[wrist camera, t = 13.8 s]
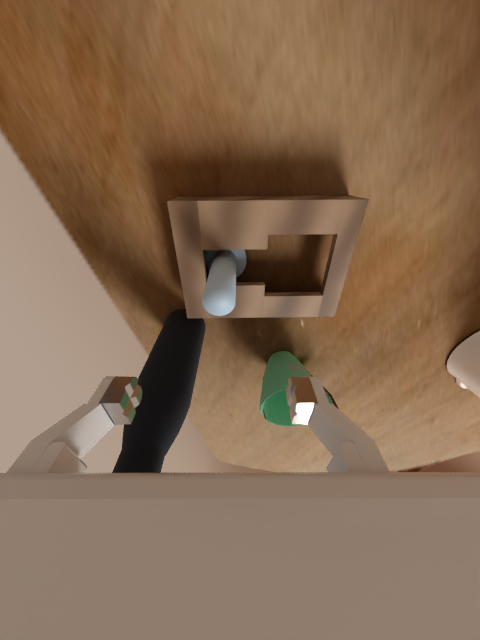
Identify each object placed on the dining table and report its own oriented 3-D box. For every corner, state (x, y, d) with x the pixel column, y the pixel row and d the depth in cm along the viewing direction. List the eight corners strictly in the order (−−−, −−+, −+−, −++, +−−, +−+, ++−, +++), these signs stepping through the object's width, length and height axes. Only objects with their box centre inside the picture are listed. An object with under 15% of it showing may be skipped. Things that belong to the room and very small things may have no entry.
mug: (245, 367, 41) (248, 416, 33) (274, 332, 36) (285, 379, 28) (305, 390, 45) (321, 438, 37) (338, 361, 40) (364, 409, 32)
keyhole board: (349, 195, 25) (368, 199, 21) (323, 300, 33) (334, 316, 29) (177, 196, 25) (166, 201, 21) (193, 301, 33) (187, 318, 29)
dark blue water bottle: (166, 305, 33) (-38, 694, 8) (207, 312, 34) (130, 686, 9) (165, 337, 37) (20, 675, 12) (203, 343, 38) (138, 670, 13)
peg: (246, 236, 27) (251, 272, 18) (245, 277, 31) (248, 327, 21) (203, 235, 27) (183, 271, 17) (206, 276, 30) (190, 326, 21)
